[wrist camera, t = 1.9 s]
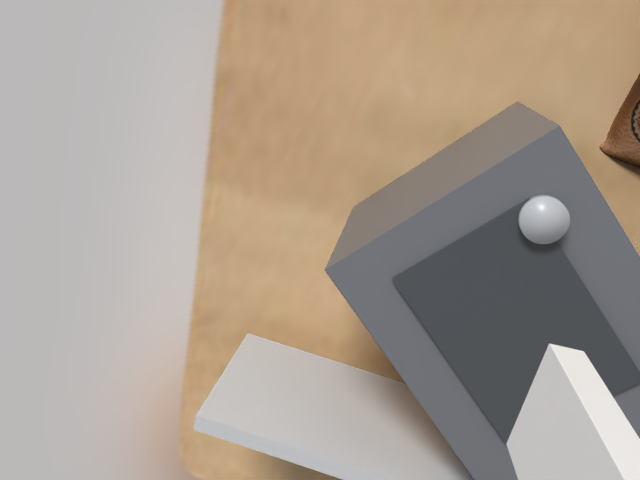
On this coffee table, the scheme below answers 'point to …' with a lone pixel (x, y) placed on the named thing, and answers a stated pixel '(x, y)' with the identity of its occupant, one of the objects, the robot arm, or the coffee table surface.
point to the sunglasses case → (626, 130)
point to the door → (325, 416)
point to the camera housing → (493, 280)
